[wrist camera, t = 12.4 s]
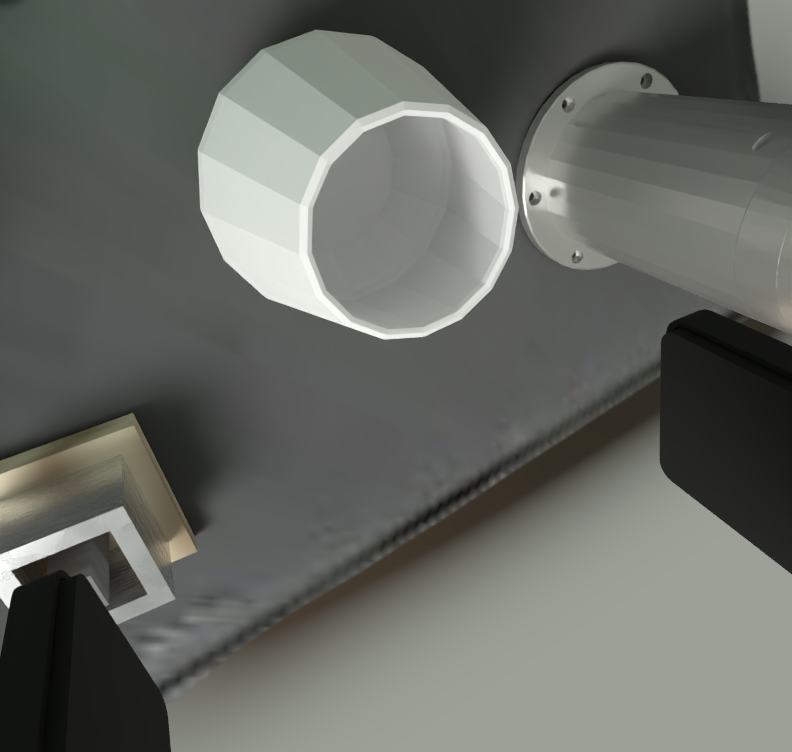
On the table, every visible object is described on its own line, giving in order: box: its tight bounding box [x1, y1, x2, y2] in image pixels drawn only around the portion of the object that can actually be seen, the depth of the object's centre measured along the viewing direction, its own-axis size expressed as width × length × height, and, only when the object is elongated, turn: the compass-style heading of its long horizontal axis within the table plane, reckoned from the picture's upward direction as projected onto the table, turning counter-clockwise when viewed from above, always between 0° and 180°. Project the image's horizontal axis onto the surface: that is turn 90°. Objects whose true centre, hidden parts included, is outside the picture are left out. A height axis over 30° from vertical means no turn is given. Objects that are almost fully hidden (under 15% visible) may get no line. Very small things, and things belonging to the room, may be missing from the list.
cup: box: [198, 30, 519, 339], centre depth 30 cm, size 13×13×14 cm
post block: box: [0, 413, 197, 606], centre depth 36 cm, size 10×10×8 cm
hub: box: [0, 454, 175, 624], centre depth 35 cm, size 7×7×5 cm
